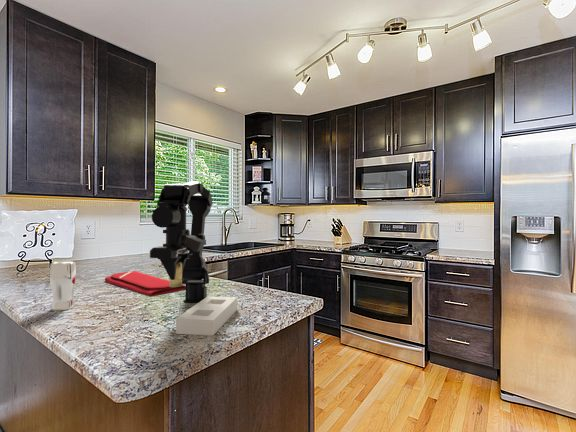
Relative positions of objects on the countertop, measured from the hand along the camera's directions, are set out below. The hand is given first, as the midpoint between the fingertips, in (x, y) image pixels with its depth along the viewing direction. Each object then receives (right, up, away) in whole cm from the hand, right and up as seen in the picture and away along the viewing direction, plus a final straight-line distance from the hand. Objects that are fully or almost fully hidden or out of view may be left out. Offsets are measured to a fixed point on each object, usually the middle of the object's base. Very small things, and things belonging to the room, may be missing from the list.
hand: (175, 278), depth 94 cm
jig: (+11, -12, -2) cm, 16 cm away
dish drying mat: (-30, -12, +43) cm, 54 cm away
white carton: (-40, -12, +9) cm, 43 cm away
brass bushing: (0, -2, 0) cm, 2 cm away
